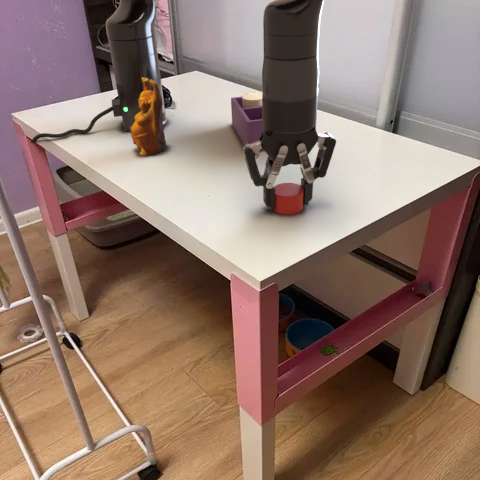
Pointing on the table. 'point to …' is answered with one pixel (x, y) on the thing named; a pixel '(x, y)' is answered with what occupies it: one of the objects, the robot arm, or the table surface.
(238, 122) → the purple divided box
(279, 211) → the cylinder
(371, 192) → the table surface
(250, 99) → the cream token high
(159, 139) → the figurine
